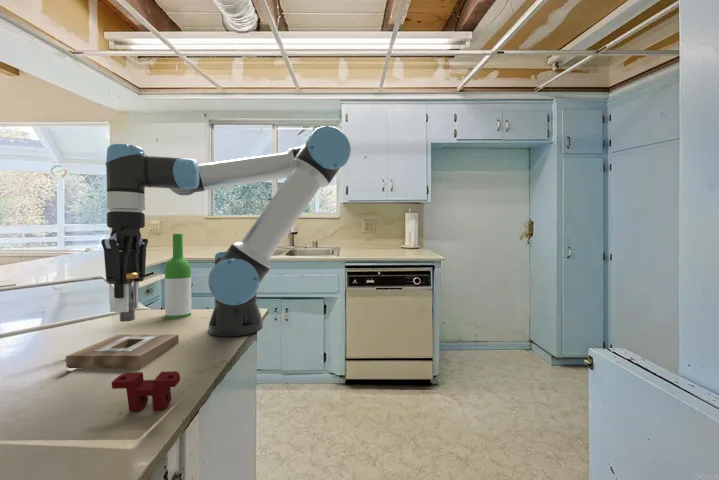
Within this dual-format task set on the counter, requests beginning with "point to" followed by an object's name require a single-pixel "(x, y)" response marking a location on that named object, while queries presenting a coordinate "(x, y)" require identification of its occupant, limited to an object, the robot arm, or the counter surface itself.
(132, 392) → the bracket
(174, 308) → the wine bottle
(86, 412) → the counter surface
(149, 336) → the wooden square socket block
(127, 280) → the flanged metal peg
